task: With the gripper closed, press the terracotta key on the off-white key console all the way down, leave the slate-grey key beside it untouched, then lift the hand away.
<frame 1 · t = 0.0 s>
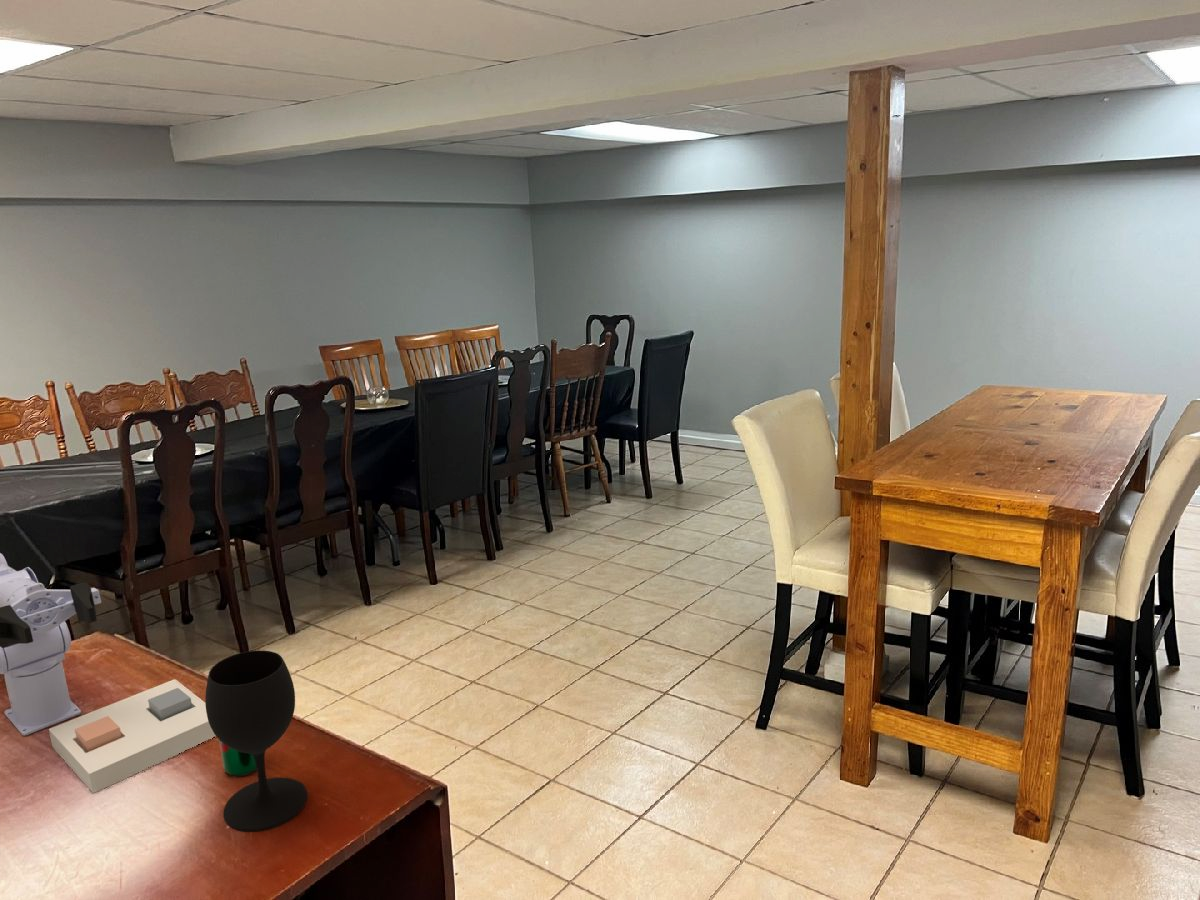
hand: (61, 624, 117), 22 cm above the table, tool horizontal, fingers open, 7 cm apart
soda can: (244, 767, 122), on the table
console: (139, 740, 128), on the table
slate key: (170, 704, 131), point 3 cm above the table, slide at 0.0 cm
wine glass: (266, 806, 114), on the table
terracotta key: (98, 734, 124), point 4 cm above the table, slide at 0.0 cm
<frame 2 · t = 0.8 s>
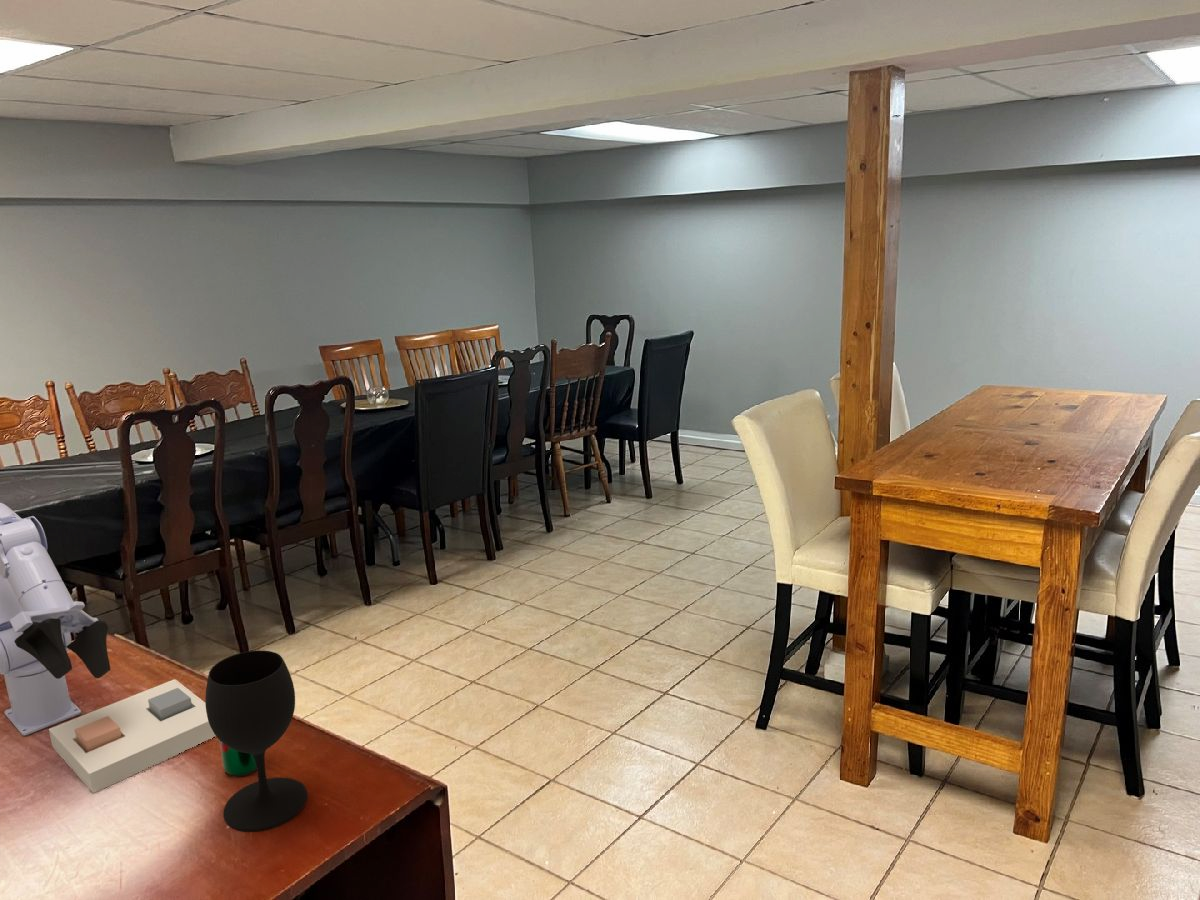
hand: (84, 674, 118), 14 cm above the table, tool tilted 50°, fingers open, 7 cm apart
nothing on the table moved.
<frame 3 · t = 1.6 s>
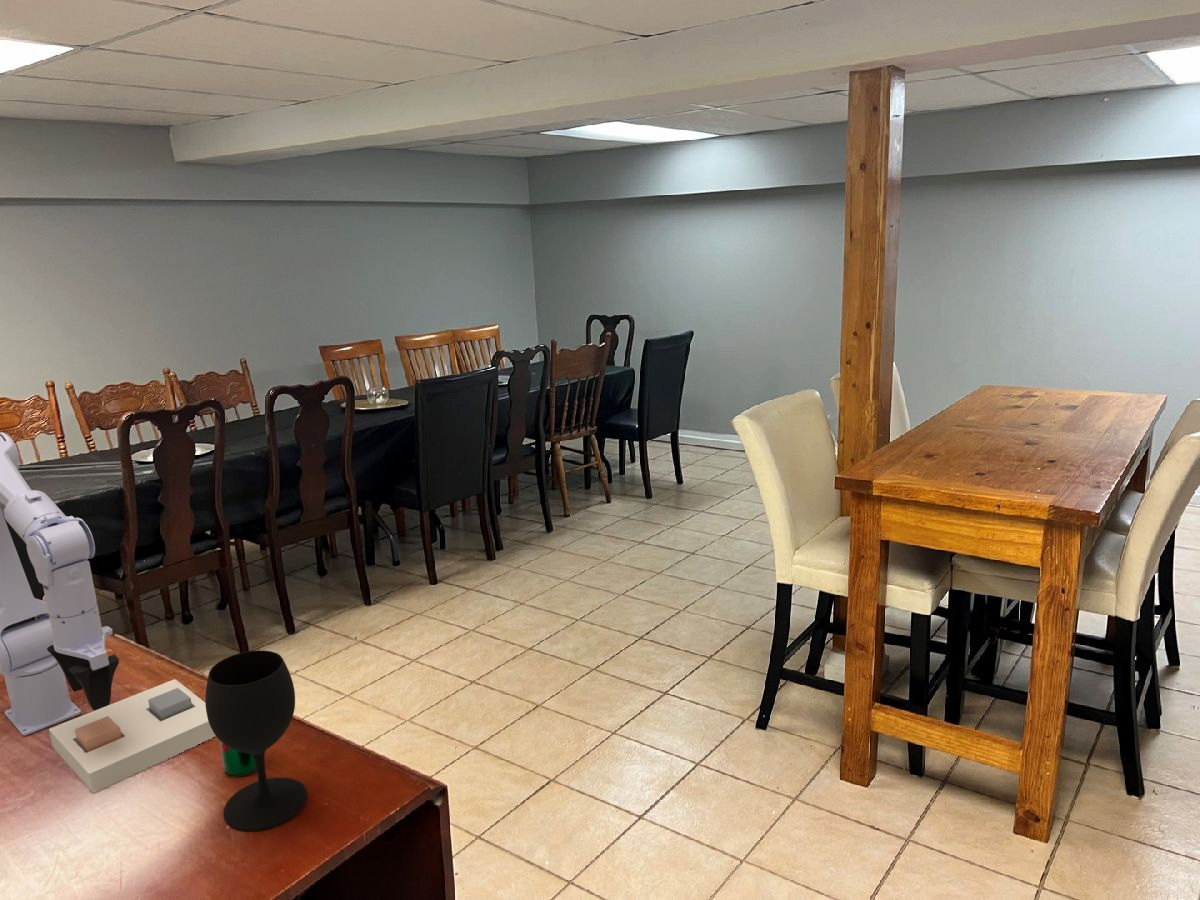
hand: (91, 697, 122), 9 cm above the table, tool pointing down, fingers open, 7 cm apart
nothing on the table moved.
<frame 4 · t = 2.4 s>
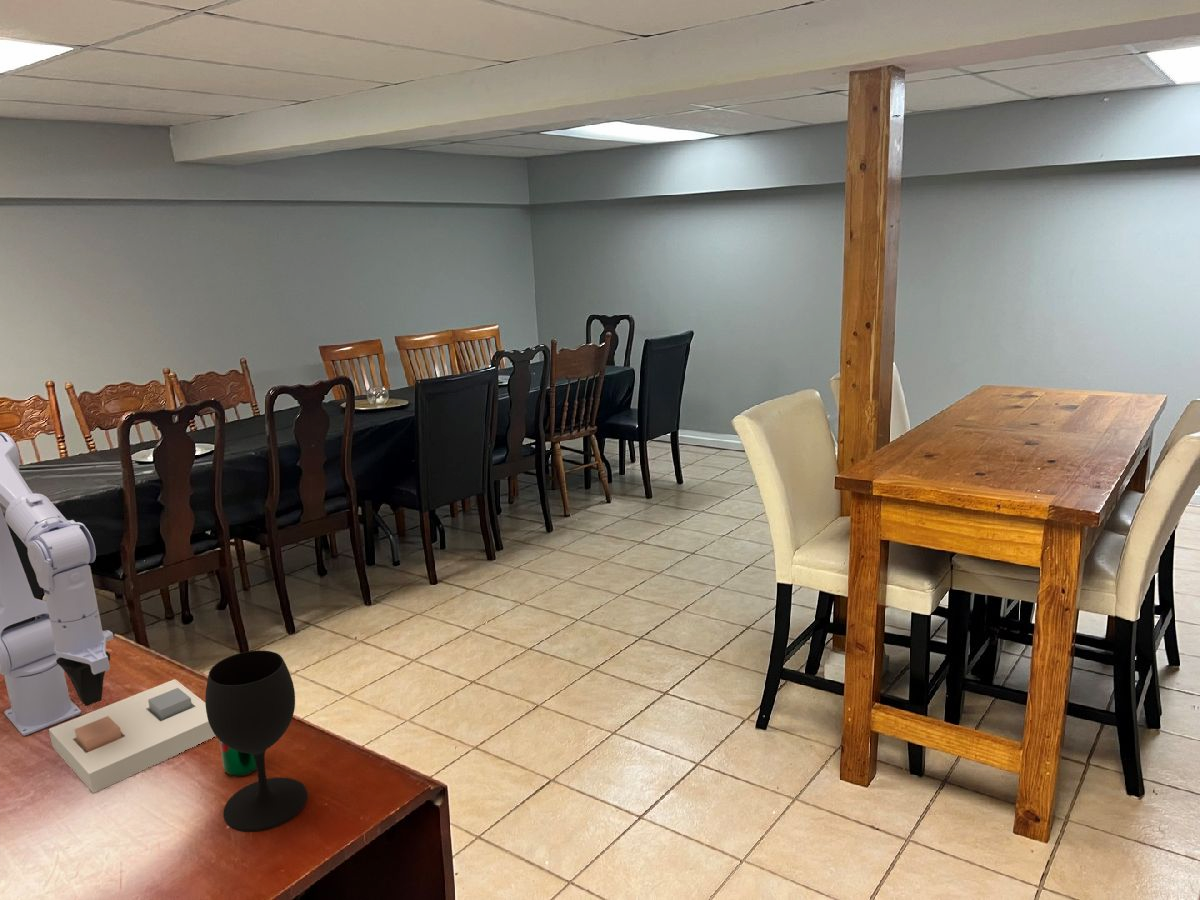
hand: (92, 701, 122), 9 cm above the table, tool pointing down, fingers closed
nothing on the table moved.
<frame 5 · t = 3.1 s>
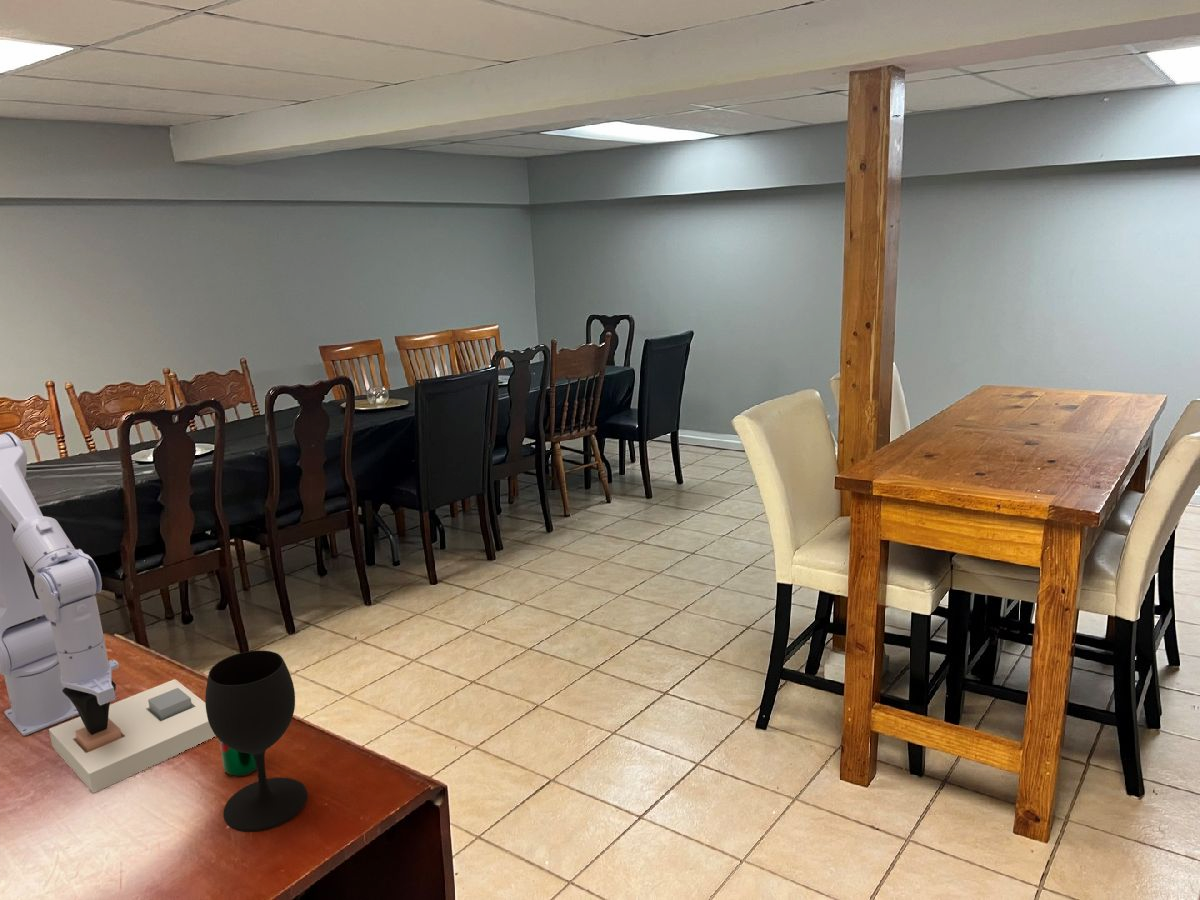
hand: (97, 730, 123), 4 cm above the table, tool pointing down, fingers closed, pressing on terracotta key
terracotta key: (98, 736, 124), point 3 cm above the table, slide at 0.3 cm, touching gripper
everything else where it was.
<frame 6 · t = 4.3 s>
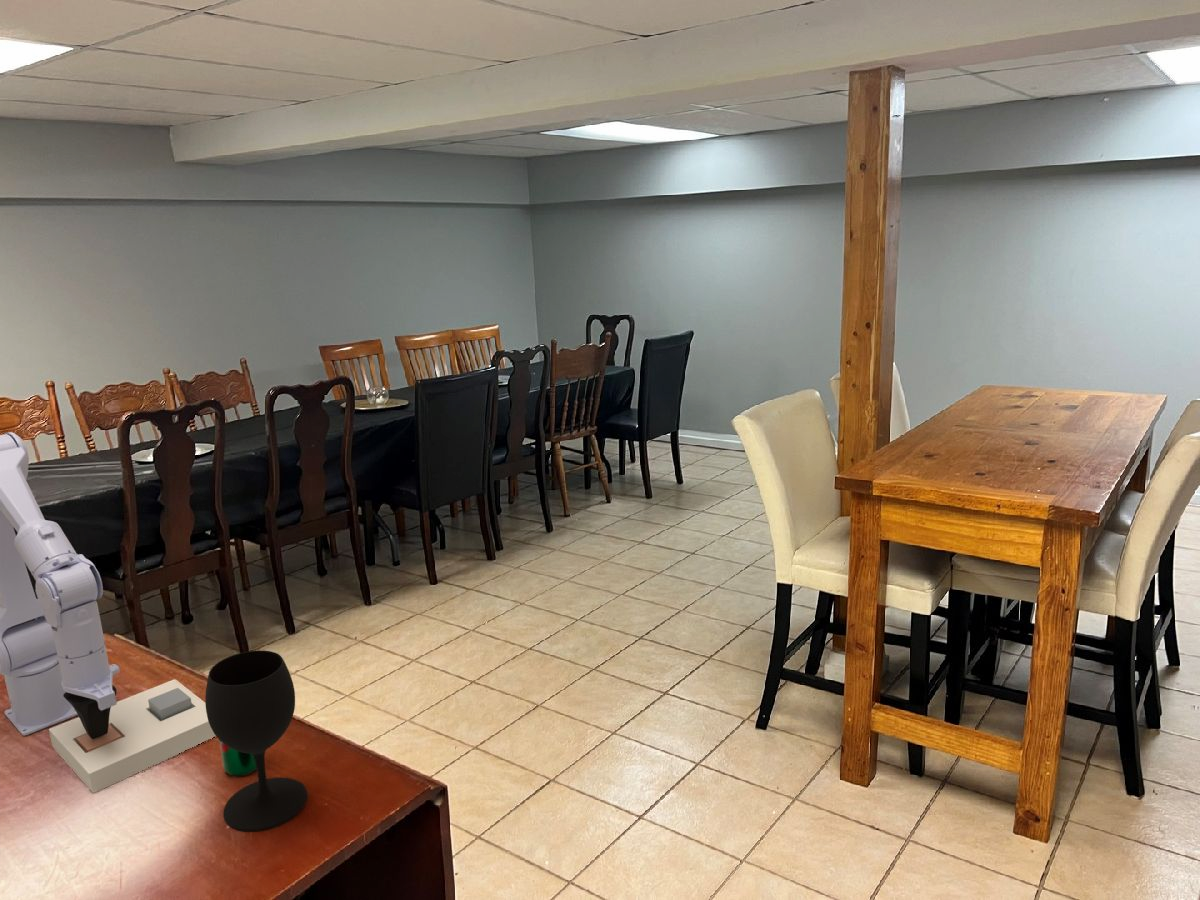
hand: (98, 734, 124), 3 cm above the table, tool pointing down, fingers closed
terracotta key: (100, 743, 124), point 2 cm above the table, slide at 1.4 cm
everything else where it was.
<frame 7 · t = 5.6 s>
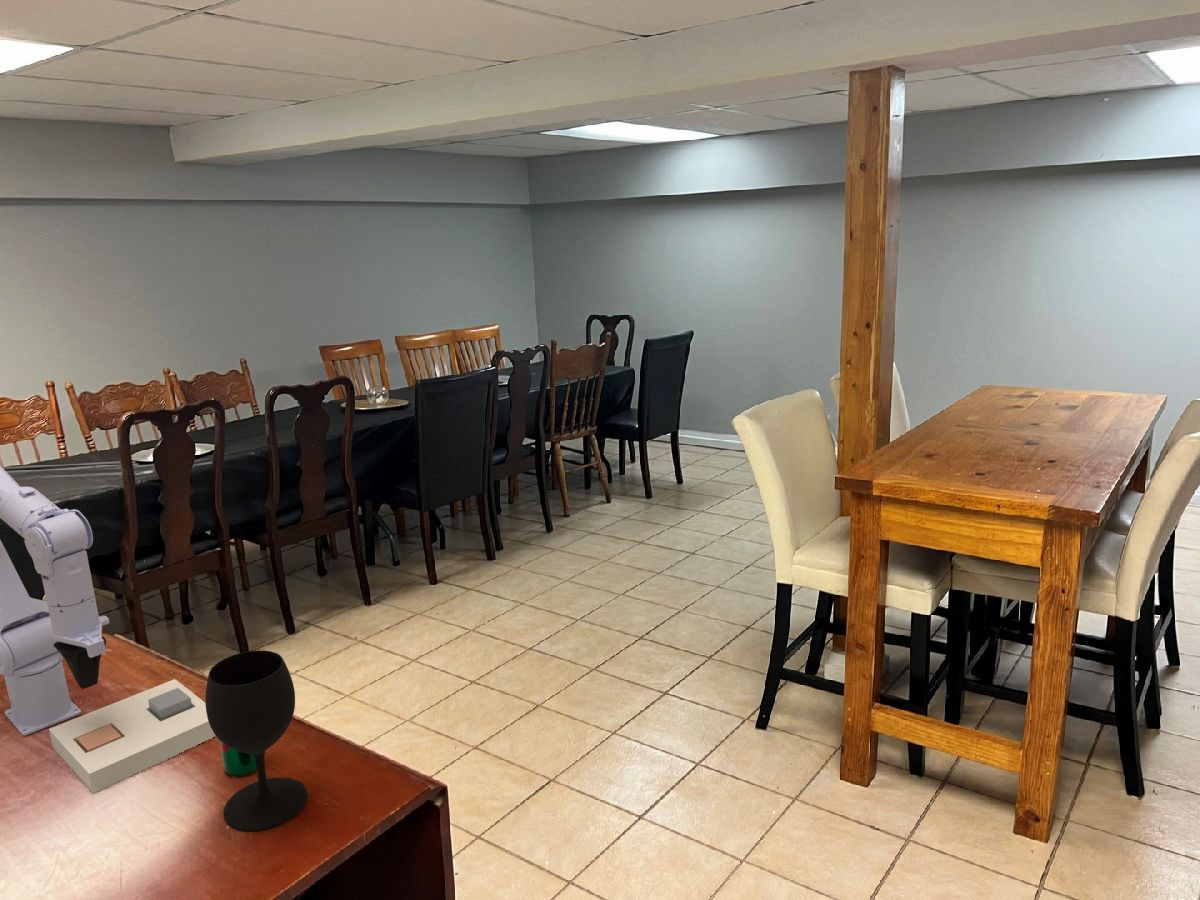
hand: (88, 684, 125), 9 cm above the table, tool pointing down, fingers closed
nothing on the table moved.
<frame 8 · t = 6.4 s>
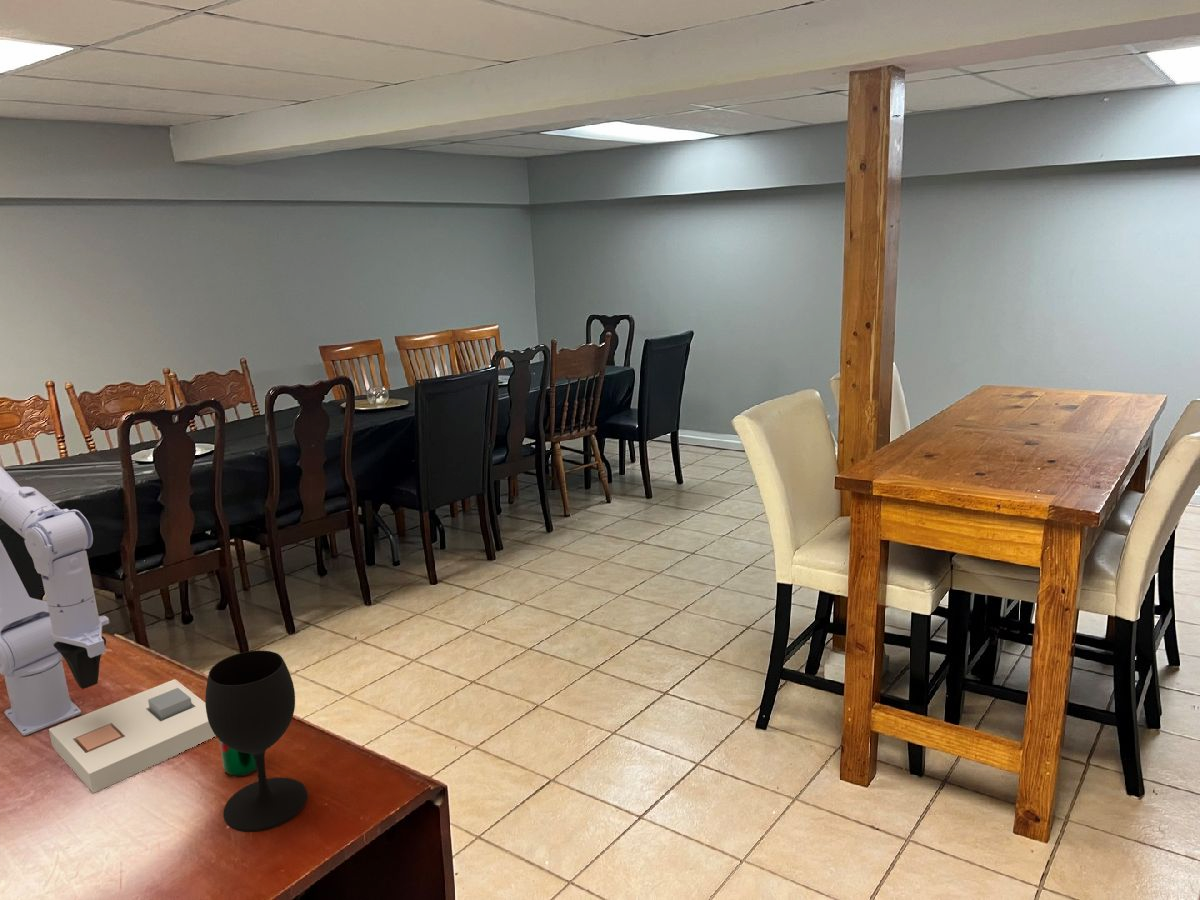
hand: (88, 684, 125), 9 cm above the table, tool pointing down, fingers closed
nothing on the table moved.
at the end: terracotta key slide at 1.4 cm; slate key slide at 0.0 cm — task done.
